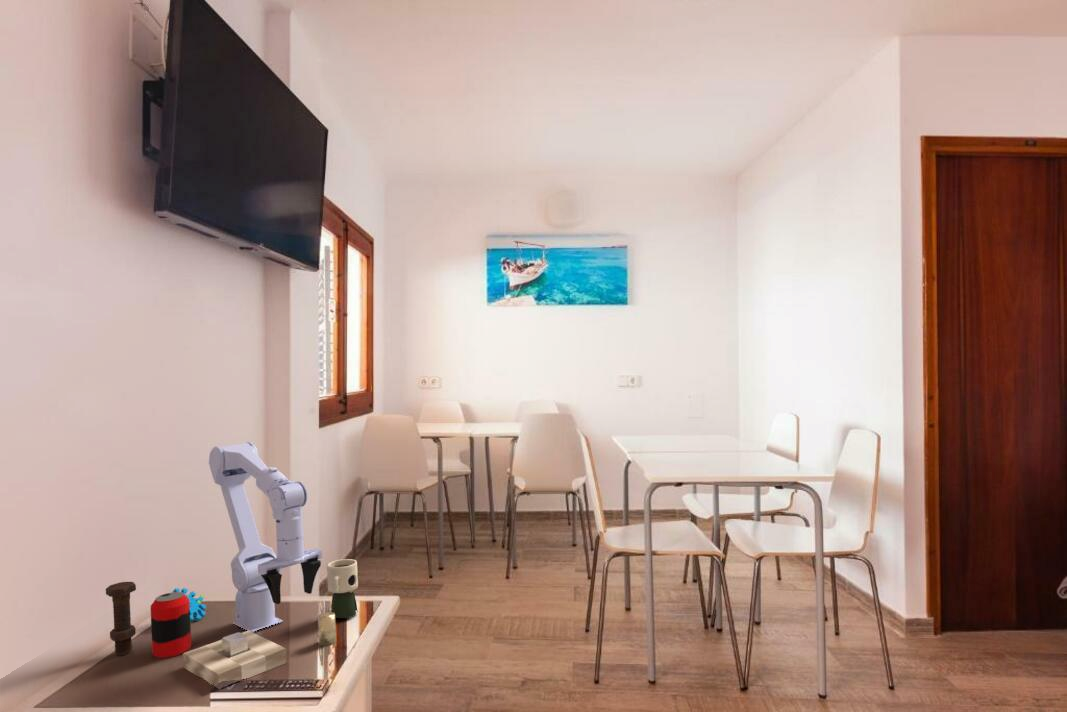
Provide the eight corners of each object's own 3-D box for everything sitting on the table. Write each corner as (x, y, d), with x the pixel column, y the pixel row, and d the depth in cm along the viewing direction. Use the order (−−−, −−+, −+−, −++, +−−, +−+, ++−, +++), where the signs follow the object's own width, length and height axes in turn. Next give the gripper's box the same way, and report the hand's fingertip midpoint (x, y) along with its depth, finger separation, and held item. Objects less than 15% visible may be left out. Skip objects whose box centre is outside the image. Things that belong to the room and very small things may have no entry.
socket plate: (183, 667, 141) (183, 653, 141) (249, 643, 152) (248, 630, 152) (219, 689, 131) (218, 674, 131) (286, 662, 142) (285, 648, 142)
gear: (187, 622, 162) (163, 590, 165) (171, 639, 163) (147, 608, 165) (218, 611, 173) (194, 581, 176) (202, 627, 173) (179, 598, 176)
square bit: (223, 666, 141) (221, 637, 141) (240, 660, 144) (238, 631, 144) (231, 671, 139) (230, 642, 139) (248, 664, 142) (247, 635, 142)
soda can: (180, 641, 155) (178, 588, 155) (198, 648, 151) (195, 594, 151) (145, 653, 149) (143, 599, 149) (163, 661, 145) (160, 605, 145)
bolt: (123, 659, 147) (120, 590, 147) (103, 658, 148) (100, 589, 148) (143, 648, 152) (140, 581, 152) (124, 647, 153) (121, 580, 153)
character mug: (351, 625, 160) (349, 569, 160) (322, 625, 161) (319, 570, 161) (365, 607, 171) (363, 556, 171) (337, 608, 172) (335, 556, 172)
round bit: (316, 643, 151) (314, 616, 151) (330, 637, 154) (329, 610, 154) (325, 647, 149) (323, 619, 149) (339, 641, 151) (338, 614, 151)
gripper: (267, 548, 145) (270, 611, 145) (328, 532, 156) (330, 591, 156) (252, 542, 150) (255, 604, 150) (311, 528, 161) (314, 585, 161)
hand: (292, 597), depth 153 cm, fingers open, 7 cm apart
